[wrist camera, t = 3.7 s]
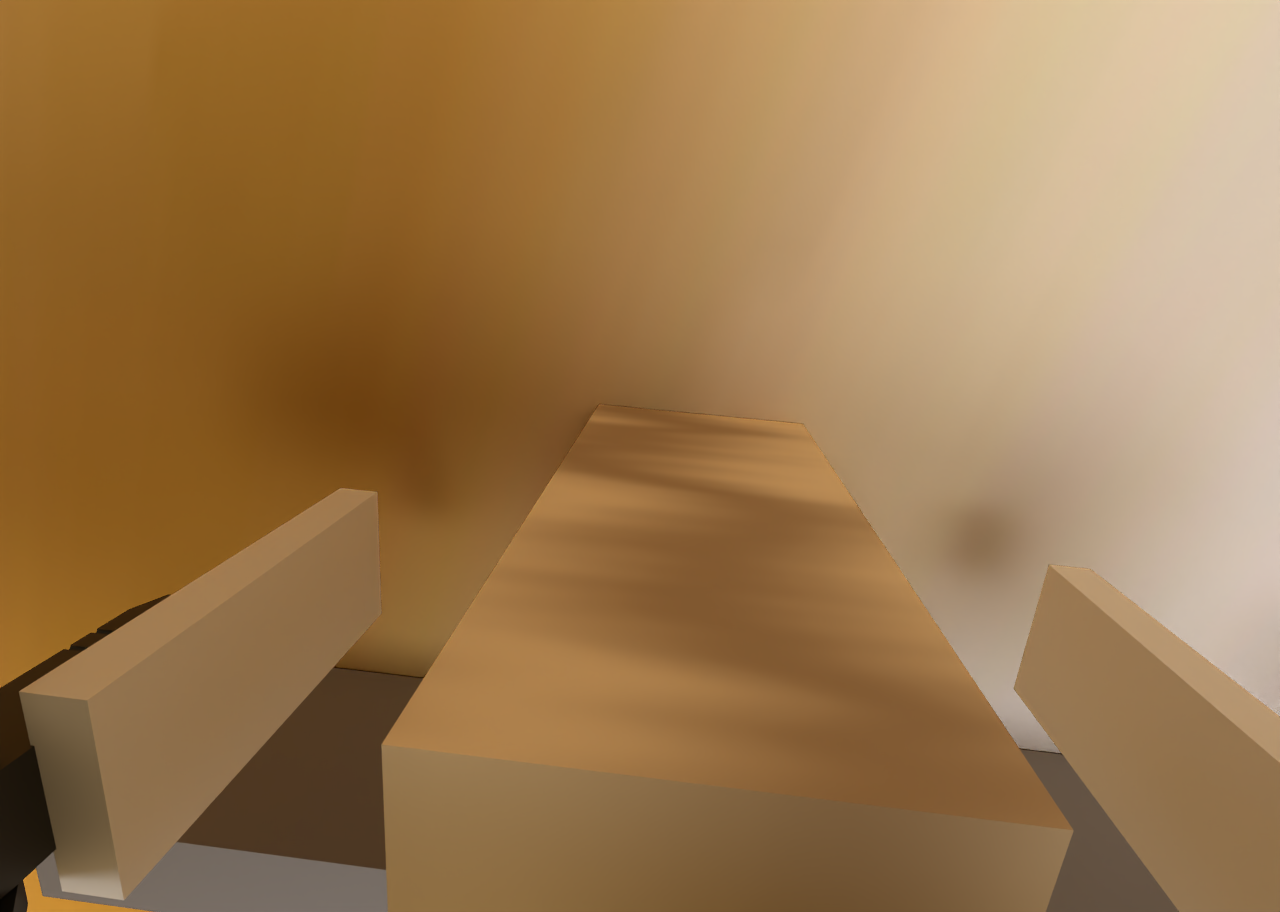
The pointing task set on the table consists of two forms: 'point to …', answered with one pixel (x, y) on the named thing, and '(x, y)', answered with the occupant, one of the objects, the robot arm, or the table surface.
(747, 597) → the letter block
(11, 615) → the table surface
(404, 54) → the table surface
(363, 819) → the grey plank
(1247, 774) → the robot arm
